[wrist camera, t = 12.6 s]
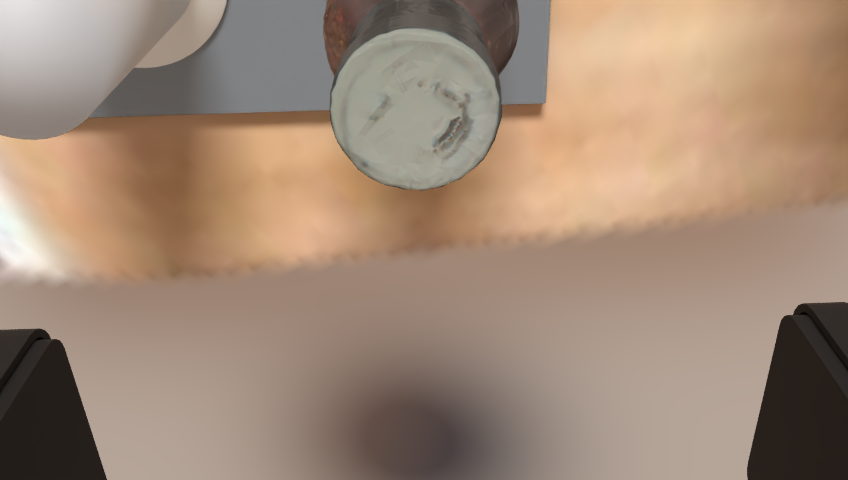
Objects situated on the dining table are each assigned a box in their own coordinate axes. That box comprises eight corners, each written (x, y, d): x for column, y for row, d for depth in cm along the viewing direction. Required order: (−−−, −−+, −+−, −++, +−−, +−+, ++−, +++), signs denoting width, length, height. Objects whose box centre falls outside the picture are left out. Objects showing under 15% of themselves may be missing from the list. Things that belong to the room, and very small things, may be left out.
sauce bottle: (516, -10, 37) (606, 188, 20) (395, 53, 38) (380, 289, 21) (452, -152, 34) (490, -66, 17) (322, -78, 35) (236, 72, 18)
